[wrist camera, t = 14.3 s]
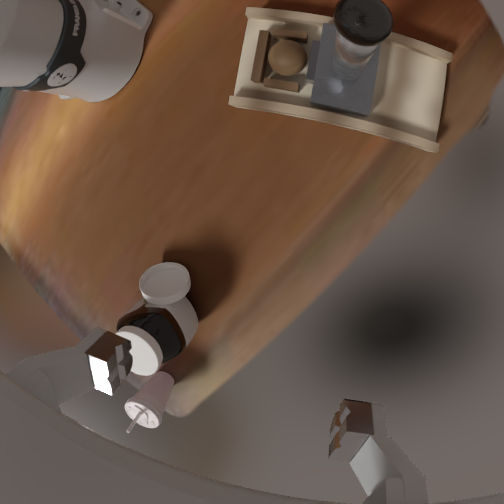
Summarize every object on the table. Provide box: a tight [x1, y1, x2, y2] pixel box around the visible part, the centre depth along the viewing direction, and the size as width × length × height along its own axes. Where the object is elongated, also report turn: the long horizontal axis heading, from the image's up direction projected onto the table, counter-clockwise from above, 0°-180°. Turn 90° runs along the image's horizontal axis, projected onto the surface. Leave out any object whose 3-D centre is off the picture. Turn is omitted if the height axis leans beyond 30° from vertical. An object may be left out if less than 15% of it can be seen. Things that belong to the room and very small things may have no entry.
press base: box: [229, 7, 452, 153], centre depth 29 cm, size 23×12×4 cm, turn 80°
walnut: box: [268, 40, 307, 76], centre depth 28 cm, size 4×4×4 cm
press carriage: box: [306, 0, 393, 117], centre depth 20 cm, size 7×9×18 cm
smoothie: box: [125, 371, 174, 433], centre depth 46 cm, size 6×6×14 cm
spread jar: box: [115, 262, 198, 375], centre depth 40 cm, size 12×11×12 cm
